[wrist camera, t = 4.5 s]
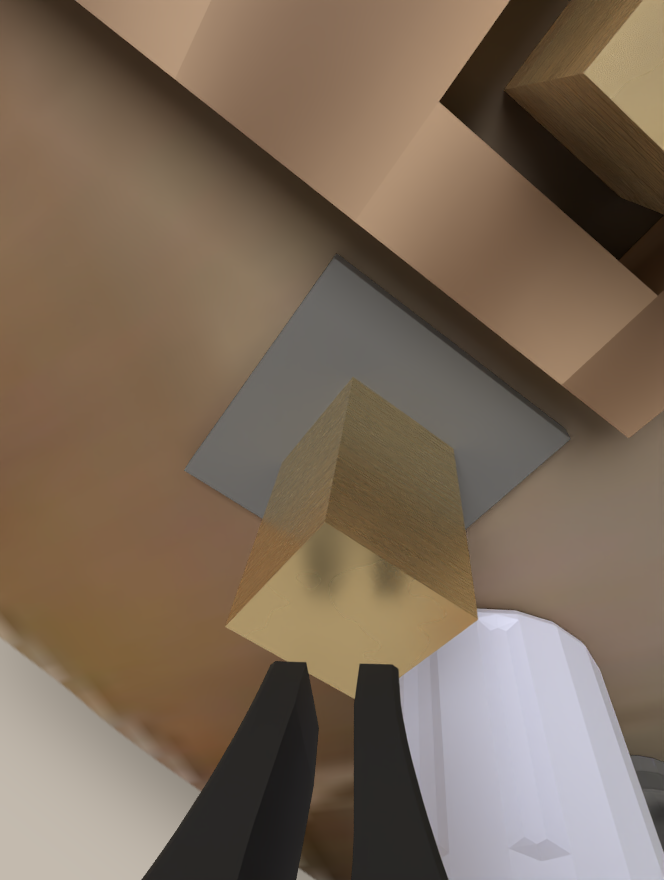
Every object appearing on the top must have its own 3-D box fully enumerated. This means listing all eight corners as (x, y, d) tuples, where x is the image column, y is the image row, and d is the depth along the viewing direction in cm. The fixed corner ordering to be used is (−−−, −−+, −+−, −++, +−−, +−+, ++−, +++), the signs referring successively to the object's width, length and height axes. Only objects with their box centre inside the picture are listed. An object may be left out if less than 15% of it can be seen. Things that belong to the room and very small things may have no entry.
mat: (566, 429, 18) (570, 439, 17) (387, 584, 22) (387, 596, 21) (336, 253, 16) (334, 257, 15) (189, 461, 20) (183, 470, 19)
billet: (453, 448, 18) (478, 619, 12) (376, 523, 20) (363, 704, 14) (353, 376, 17) (324, 522, 11) (282, 462, 19) (225, 626, 13)
